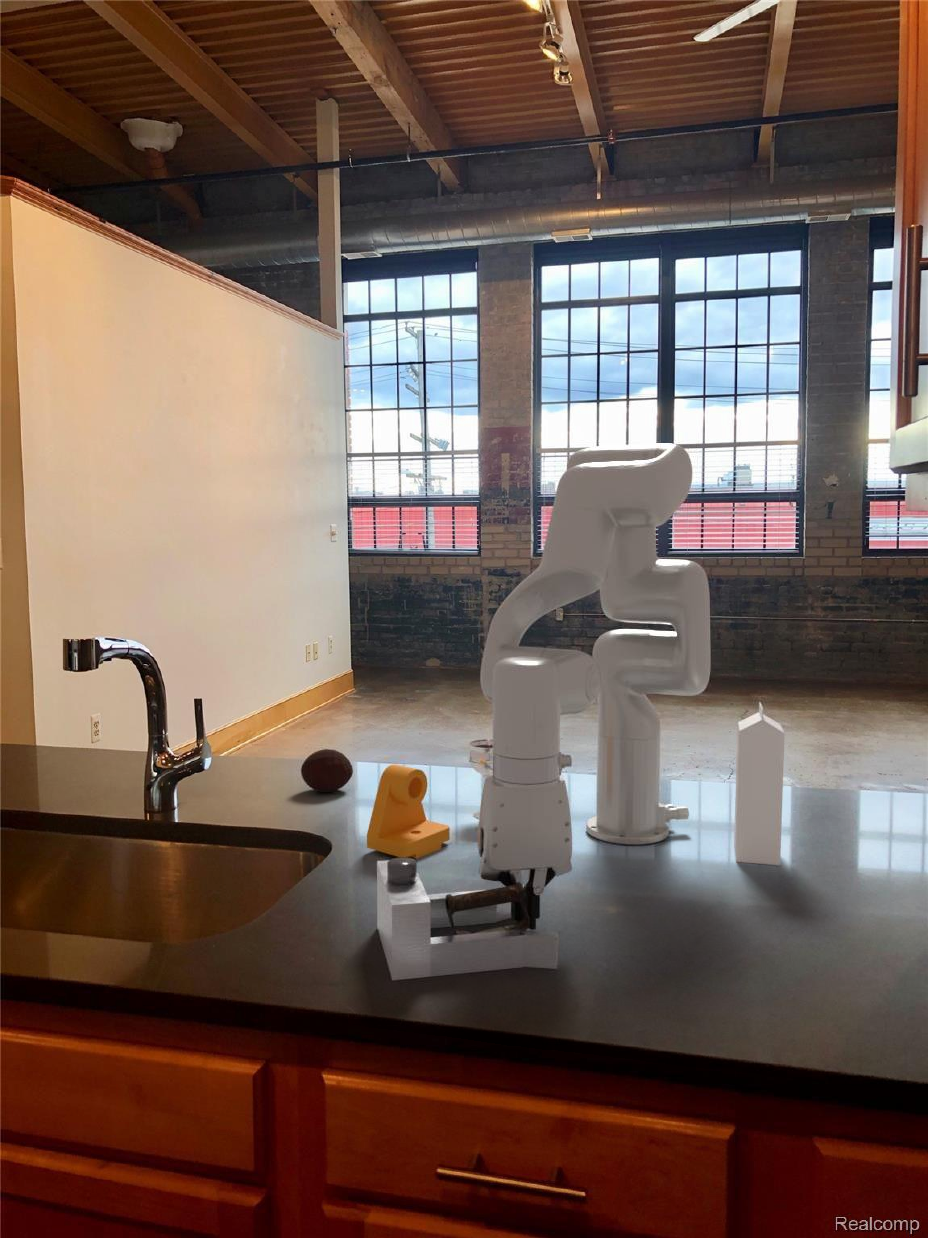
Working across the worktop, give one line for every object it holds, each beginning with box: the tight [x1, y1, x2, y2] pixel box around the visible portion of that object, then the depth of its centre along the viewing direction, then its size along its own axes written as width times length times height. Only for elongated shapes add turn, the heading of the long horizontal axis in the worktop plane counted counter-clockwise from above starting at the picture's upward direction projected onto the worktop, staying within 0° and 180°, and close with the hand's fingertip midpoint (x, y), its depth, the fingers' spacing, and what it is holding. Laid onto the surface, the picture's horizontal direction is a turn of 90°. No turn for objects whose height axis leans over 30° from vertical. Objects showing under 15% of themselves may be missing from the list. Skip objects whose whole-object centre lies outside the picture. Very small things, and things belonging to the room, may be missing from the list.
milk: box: [733, 701, 786, 866], centre depth 129 cm, size 6×6×22 cm
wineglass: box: [467, 738, 493, 820], centre depth 149 cm, size 7×7×12 cm
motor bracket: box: [376, 857, 559, 981], centre depth 101 cm, size 18×15×10 cm
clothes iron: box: [445, 882, 530, 935], centre depth 99 cm, size 7×11×10 cm, turn 107°
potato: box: [300, 748, 354, 793], centre depth 163 cm, size 8×9×8 cm
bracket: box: [366, 764, 451, 860], centre depth 133 cm, size 11×7×12 cm, turn 142°
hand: (525, 925), depth 103 cm, fingers closed
